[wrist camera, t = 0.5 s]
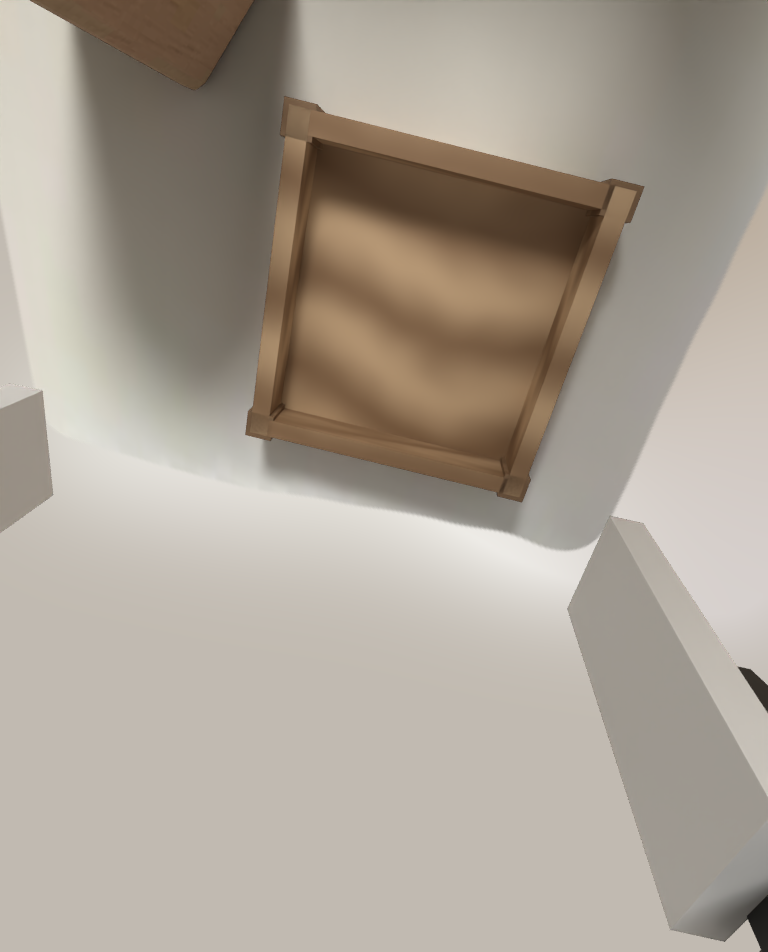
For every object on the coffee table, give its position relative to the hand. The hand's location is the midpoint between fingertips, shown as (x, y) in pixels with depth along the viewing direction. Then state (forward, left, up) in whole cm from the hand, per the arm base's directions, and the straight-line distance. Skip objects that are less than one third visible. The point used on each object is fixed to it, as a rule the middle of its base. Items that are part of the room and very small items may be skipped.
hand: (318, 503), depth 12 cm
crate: (-1, +1, -27) cm, 27 cm away
